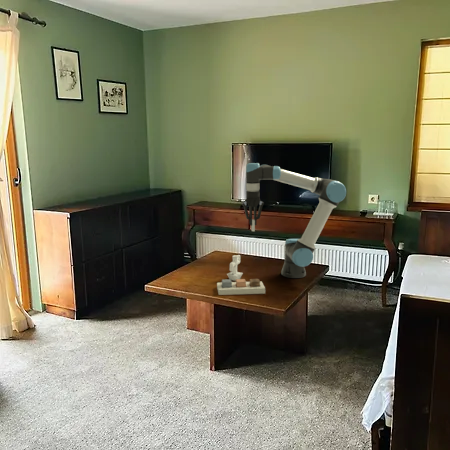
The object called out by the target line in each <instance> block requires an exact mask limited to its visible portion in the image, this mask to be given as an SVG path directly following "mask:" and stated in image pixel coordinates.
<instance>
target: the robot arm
mask: <svg viewBox="0 0 450 450" xmlns="http://www.w3.org/2000/svg"><path fill="white" fill-rule="evenodd" d="M245 172H246V173H245V177H246V178H245V179H246V180H245V181H246V188H245V189H246V191H245V192H246V193H245V194H246V198H245V201H243V202H241V205H242V206H243V209H244V213H245V217H246V219H247V220H249V225H250V227H251V232H256V231H255V230H256V227H255V226H257V222H258V221H257V220H259V219H260V218H261V214H262V210H263V206H264V205H265V202H264V201H262V200H261V198H260V182H261V181H263V180H265V181H266V180H273V181H277V182H280V183H283V184H288V185H289V186H290V185H291V186H293V187H298V188H301V189H303V190H308V191H310V193H312V194H316V195H318V196H319V197H318V201H319V203H318V205H317V207H316V208H315V211H314V213H313V214H312V216H311V218H310V219H309V222H308V224H307V226H306V228H305V230H304V231H303V234H302V236H301V237H300V238H288V239H286V240H285V242H284V243H285V244H284V263H283V265H282V269H281V276H283V277H285V278H290V279H301V278H304V277H306V276H307V272H306V268H305V267H308V266H309V265H310V264H312V262H313V260H314V252H315V250H316V247H315V245H316V242H317V240H318V238H319V237H320V234H321V233H322V231H323V229H324V227H325V224H326V223H327V221H328V220H329V219H328V218H329V217H330V215H331V213H332V211H333V209H335V208H337V207H338V206H339V203H340V202H342V201H344V200H345V198H346V195H347V188H346V186H345V185H344V184H343V183H342V182H340V181H338V180H334V179H331V178H321V177H318V176H317V177H316V176H315V177H311V176H308V175H305V174H300V173H297V172H293V171H289V170H286V169H283V168H281V167H280V166H278V165H274V166H273V165H272V166H271V165H268V164H261V165H260V163H259V162H256V163H255V162H249V163H247V164H246V168H245ZM247 205H248V207H249V209H247V208H248V207H247ZM258 205H259V207H258ZM257 209H258V210H257ZM248 211H249V212H248ZM257 211H258V212H257Z"/></svg>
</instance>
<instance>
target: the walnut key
mask: <svg viewBox="0 0 450 450" xmlns="http://www.w3.org/2000/svg"><path fill="white" fill-rule="evenodd" d="M249 282H250V287H260V279H259V278H250V279H249Z"/></svg>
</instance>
